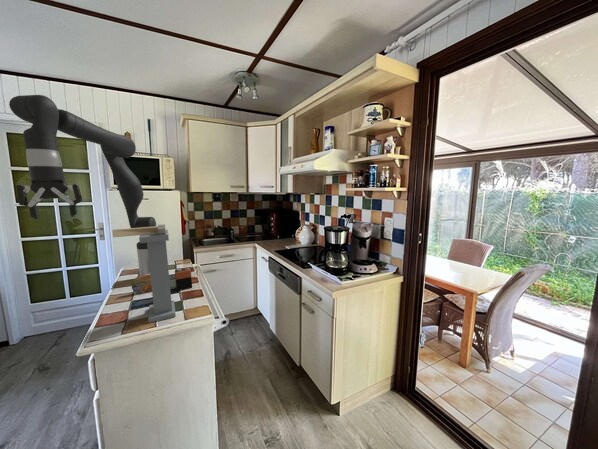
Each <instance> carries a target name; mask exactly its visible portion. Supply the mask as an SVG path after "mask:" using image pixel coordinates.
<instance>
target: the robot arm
mask: <svg viewBox="0 0 598 449" xmlns="http://www.w3.org/2000/svg"><path fill="white" fill-rule="evenodd" d="M8 104H9V105H8V107H9V109H10V110H11V112H12V113H13V114H14V116H16V117H18V118H19V119H21V120H22V121H24V122H27V123H29V124H31V127H29V128H27V129H25V130H23V135H22V136H23V140H24V147H25V151H26V154H25V156H26V157H25V158H26V165H27V167H28V173H29V178H30V182H31V184H30V185H23V184H21V185H20V184H19V185H17V186H16V192H17V200H18V205H20V206H23V207H28V209H29V210H28V211H29V213H30V217H31V218H32V219H34V220H39V219H40V218H41V217H40V212H39V208H38V206H37V205H38V204H39V202H41V201H42V200H46V199H47V200H49V199H62V200H64V201H65V202H66V203H67V204H68V209H69V213H70V218H73V217H76V215H78V209H77V204H79V203H82V202H83V197H82V193H81V188H80V185H79V184H76V183H73V184H67V183H66V180H65V174H64V173H65V172H64V167H63V164H62V162H63V161H62V158H61V154H60V152H59V147H58V146H59V145H58V141H57V134H58V131H59V132H61V133H64V134H66V135H68V136H71V137H74V138H77V139H80V140H84V141H85V142H88V143H89V142H90V143H94V144H97V145H100V149H101V152H102V153H103V156H104V158H105V160H106V161H107V163H108V165H109V168H110V170H111V172H112V175H113V178H114V180H115V183H116V186H117V190H118V192H119V196H120V198H121V200H122V203H123V205H124V209H125V212H126V215H127V219H128V220H127V221H128V224H129V228H141V227H155V226H157V221H156V218H154V217H153V216H138V209H139V207H140V205H141V203H142V201H143V199H144V190H143V187H142V184H141V181H140V180H139V178H138V177H137V176H136V174H134V172H133V171H132V170H131V169H130V168H129V166H128V165H127V164H126V162H125V159H126V158H127V159H128V158H129V159H130V158H131V157H133V156H134V155H135V153H136V150H137V146H136V144H135V141H134V140H133V139H132V138H131V137H130V136H127V135H123V134H120V133H119V134H118V133H116V132H113V131H110V130H108V129H106V128H103V127H102V126H98V125H96V124H95V123H92V122H90V121H88V120H86V119H84V118H82V117H80V116H77V115H76V114H74V113H72V112H70V111H68V110H66V109H65V110H64V109H59V108H58V107H57V105H56V103H55V101H53V100H52V99H51V98H49V97H48V96H46V95H43V94H29V95H25V94H23V95H16V96H14V97H12V98H11V99H10V100H9V103H8ZM68 189H69V190H70V191H71V192H73V194H74V199H73V198H72V197H71V196H70V195H68V194H67V193H66V192H67V191H68ZM30 190H31V191H32V192H33V193H35V194H34V195H33V197H32V198H31V200H30V201H28V194H27V193H29V192H30ZM136 253H137V259H138V260H137V262H138V270H139V276H141V275H146V274H150V267H149V257H148V248H147V243H140V241H138V242H137V243H136Z"/></svg>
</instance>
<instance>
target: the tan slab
mask: <svg viewBox="0 0 598 449" xmlns="http://www.w3.org/2000/svg"><path fill="white" fill-rule="evenodd" d="M165 230H166V225H165V224H157V225H156V226H155V227H141V228H130V227H127V228H118V229H117V228H116V229H112V230H111V232H112V238H121V237H122V238H123V237H132V236H133V237H134V236H140V235H148V234H158V235H166V231H165Z"/></svg>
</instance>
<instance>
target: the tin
mask: <svg viewBox="0 0 598 449" xmlns="http://www.w3.org/2000/svg"><path fill="white" fill-rule="evenodd" d="M131 289H132V291H133V292H134V293H136V294H139V295H142V294H143V295H144V294H148V293H152V286H151V277H150V274H146V275H141V276H140V275H138V276H137V277H135V278H134V279H133V280H132V282H131Z"/></svg>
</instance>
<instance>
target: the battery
mask: <svg viewBox="0 0 598 449" xmlns="http://www.w3.org/2000/svg"><path fill="white" fill-rule="evenodd" d="M174 278H175V288H176V291H182V290H187V289H191V288H193V280H192V270H191V268H190V267H188V266H187V267H184V268H180V267H179V268H176V270H174Z"/></svg>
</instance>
